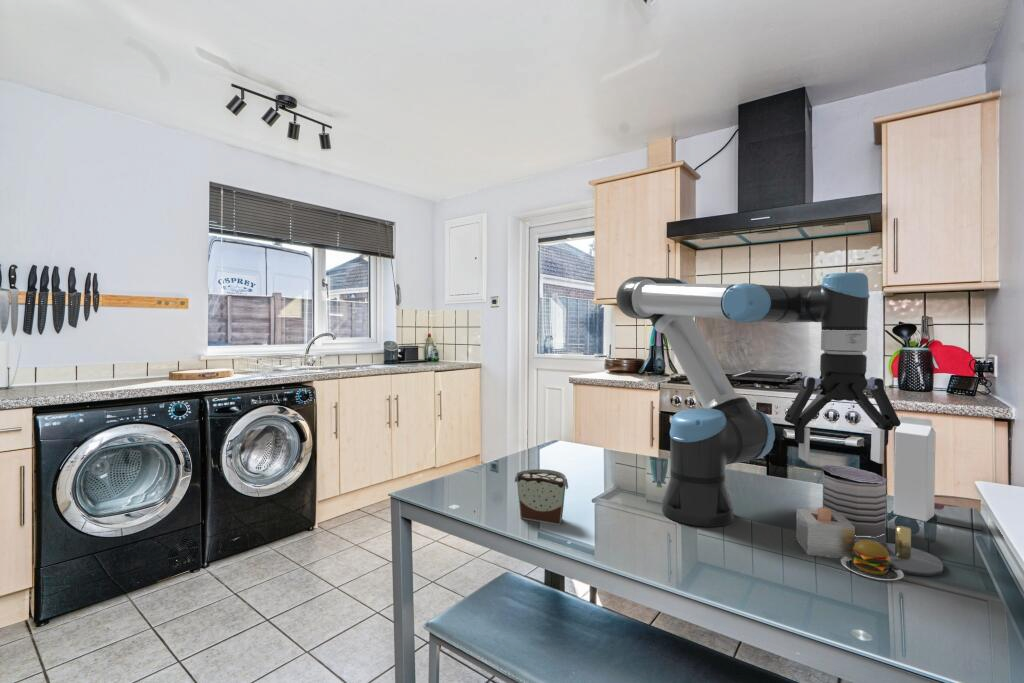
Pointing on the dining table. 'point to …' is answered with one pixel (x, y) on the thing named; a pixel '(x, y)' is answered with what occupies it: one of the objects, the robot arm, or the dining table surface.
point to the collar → (825, 534)
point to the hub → (911, 556)
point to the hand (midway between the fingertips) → (840, 460)
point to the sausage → (824, 514)
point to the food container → (541, 495)
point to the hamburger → (871, 559)
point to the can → (856, 498)
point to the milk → (914, 468)
